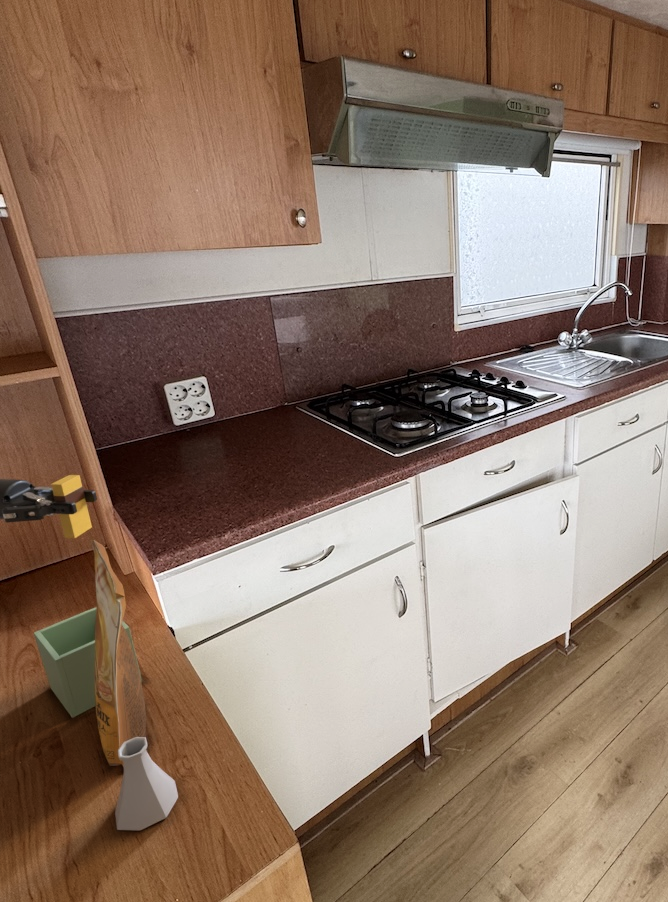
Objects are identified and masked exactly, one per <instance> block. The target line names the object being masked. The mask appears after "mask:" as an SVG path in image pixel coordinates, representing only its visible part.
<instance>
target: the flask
mask: <svg viewBox="0 0 668 902" xmlns="http://www.w3.org/2000/svg"><path fill="white" fill-rule="evenodd" d="M147 740H148V739H147V736H146V737H135V738H133V739H130V740H128V741H125V742H124V743H123V744H122V745H121V747H120V748H119V749H118V756H119V760H122V761H123V764H124V768H123V775H122V776H123V777H122V779H121V785H120V790H119V794H118V798H117V803H116V806H115V810H114V815H115V825H116V830H117V831H142V830H145V829H146V828H148V827H150V826H152V825H155V824H156V823H158V822H160V821H163V820H165V819H167V817H168V816H169V814H170V812H172V811H171V810H172V809H173V807H174V805H175V804H176V802H177V800H178V798H179V793H178V789H177V785H176V780H174V779H173V778H172V777H171V776H170V775H169V774H167V773H166V772H165V770H163V769H162V768H161V767H160V766H158V764H156V763H155V762H154V761H153V759H152V758H151V756H150V755H149V753H148V750H147V749H148V741H147Z"/></svg>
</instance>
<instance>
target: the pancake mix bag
mask: <svg viewBox="0 0 668 902" xmlns="http://www.w3.org/2000/svg"><path fill="white" fill-rule="evenodd" d="M89 543H90V545H91V547H92V550H93V554H94V576H95V577H94V578H95V579H94V580H95V593H96V594H95V595H96V596H95V597H96V598H95V599H96V600H95V601H96V602H95V603H96V605H95V607H96V620H95V706H94V708H95V715H96V721H97V729H98V734H99V739H100V742H101V747H102V751H103V754H104V757H105V758H106V761H107V763H108V765H109V766H110V767H112V766H122V768H123V769H124V764H123V761H122V760H119V756H118V749H119V748H120V747H121V745H122V744H123V743H124V742H125V741H128V740H130V739H133V738H135V737H146V738H147V735H146V734H147V711H146V709H147V708H146V701H145V698H144V691H143V686H142V682H141V679H140V674H141V673H140V674H139V670H140V669H139V670H138V666H139V665H138V666H137V663H136V660H135V656H134V653H133V649H132V646H131V643H130V640H129V638H128V635H127V633H126V631H125V629H124V627H123V625H122V621H123V622H124V617H125V613H126V609H127V602H126V595H125V589H124V584H122V582H121V581H120V580H119V578H118V575H116V573H115V572H114V570H113V568H112V565H111V563H110V559H109V555H108V552H107V550H106V547H105V546H104V545H103V544H101V542H98V541H97V540H95V539H90V540H89Z"/></svg>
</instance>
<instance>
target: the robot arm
mask: <svg viewBox="0 0 668 902" xmlns="http://www.w3.org/2000/svg"><path fill="white" fill-rule="evenodd" d="M83 490H84V494H85V500H86V503H95V502H96V501H98V497H97V493H96V491H95V490H93V489H83ZM76 512H77V508H76V504H75V503H74V502H60V501H55V499H54V494H53V490H52V486H43V485H42V486H35V485H33V484H32V483H31V482H29V481H27V480H25V479H14V478H13V479H12V478H11V479H10V478H0V520H4V522H5V523H18V522H19V523H20V522H30V521H31V522H32V521H41V520H44V519H45V517H46V516H47V517H51V516H55V515H59V514H74V513H76Z"/></svg>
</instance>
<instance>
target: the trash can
mask: <svg viewBox="0 0 668 902" xmlns="http://www.w3.org/2000/svg"><path fill="white" fill-rule="evenodd" d="M95 620H96V606H95V607H93V608H90V609H88V610H86V611H83V612H81V613H78V614H76V615H73V616H71V617H69V618H66V619H63V620H60V621H59V622H56V623H54V624H52V625H49V626H45V627H43V628H42V629H39V630H37V631H34V632H33V635H34V639H35V643H36V645H37V648H38V653H39V655H40V658H41V662H42V665H43V668H44V672H45V675H46V678H47V681H48V685H49V688H50V689H51V691H52V692H53V693H54V695H55V696H56V698H57V699H58V701H59V702H60V703H61V705H62V706H63V707H64V709H65V710H66V711H67V713H68V715H70V717H71V718H72V719H73V718H75V717H77V716H79V715H81V714H83V713H85V712H88V710H89V711H90V710H91V709H92V708H95ZM122 625H123V627H124V629H125V631H126V633H127V635H128V638H129V640H130V643H131V646H132V649H133V653H134V656H135V660H136V663H137V666H138V670H139V674H140V679H141V683H142V682H143V679H142V675H141V670H140V666H139V662H138V658H137V654H136V648H135V645H134V641H133V637H132V632H131V628H130V626H129V625H128V624H126V623H125V621H124V620H123V621H122Z"/></svg>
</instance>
